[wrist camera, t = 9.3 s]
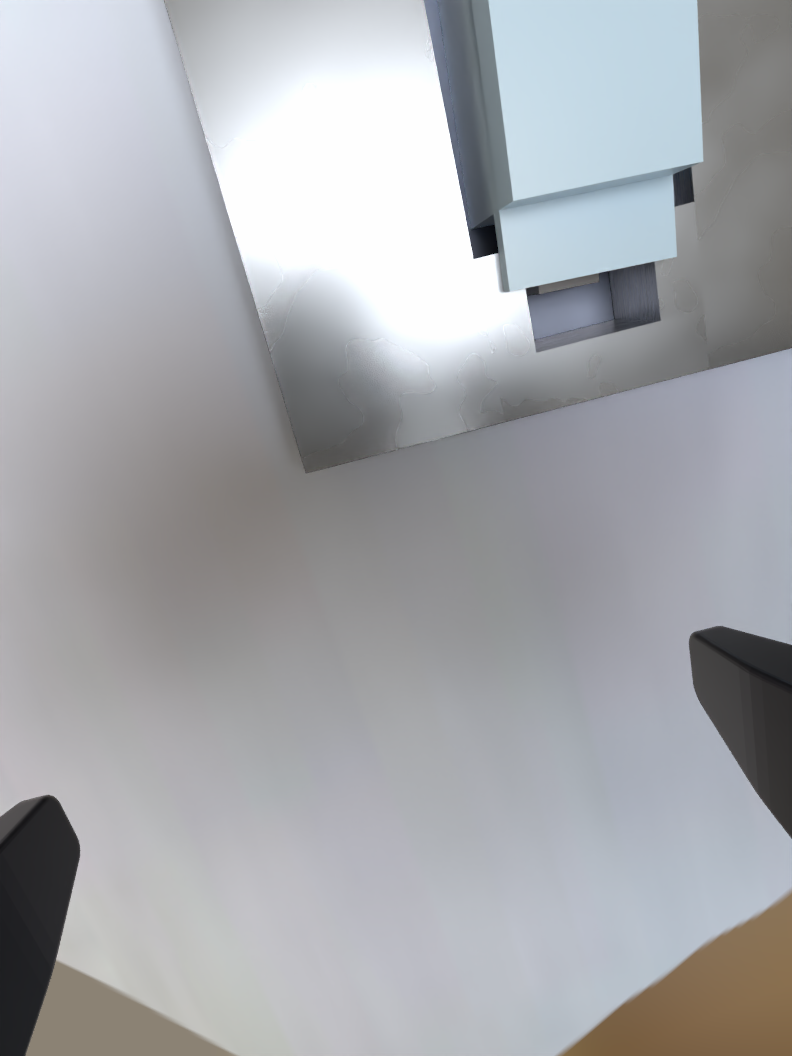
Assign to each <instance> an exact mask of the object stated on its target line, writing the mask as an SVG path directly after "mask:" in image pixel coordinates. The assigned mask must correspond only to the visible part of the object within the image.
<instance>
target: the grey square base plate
mask: <svg viewBox="0 0 792 1056" xmlns="http://www.w3.org/2000/svg"><path fill="white" fill-rule="evenodd" d="M164 2H165V5H166V9H167V12H168V15H169V19H170V22H171V25H172V29H173V32H174V35H175V39H176V42H177V45H178V49H179V52H180V55H181V59H182V62H183V65H184V69H185V72H186V75H187V79H188V82H189V85H190V89H191V92H192V95H193V99H194V102H195V105H196V109H197V112H198V115H199V119H200V122H201V125H202V129H203V132H204V135H205V139H206V142H207V145H208V149H209V152H210V155H211V159H212V162H213V165H214V169H215V172H216V175H217V179H218V182H219V185H220V189H221V192H222V195H223V199H224V202H225V205H226V209H227V212H228V215H229V219H230V222H231V225H232V229H233V232H234V235H235V239H236V242H237V245H238V249H239V252H240V255H241V259H242V262H243V265H244V269H245V272H246V275H247V279H248V282H249V285H250V289H251V292H252V295H253V299H254V302H255V305H256V309H257V312H258V315H259V319H260V322H261V325H262V329H263V332H264V335H265V339H266V342H267V345H268V349H269V352H270V355H271V359H272V362H273V365H274V369H275V372H276V375H277V379H278V382H279V385H280V389H281V392H282V395H283V399H284V402H285V405H286V409H287V412H288V415H289V419H290V422H291V425H292V429H293V432H294V435H295V439H296V442H297V445H298V449H299V452H300V455H301V459H302V462H303V465H304V469H305V472H306V473H309V472H313V471H317V470H321V469H325V468H329V467H333V466H337V465H340V464H344V463H348V462H352V461H356V460H360V459H364V458H368V457H371V456H375V455H379V454H383V453H387V452H391V451H395V450H399V449H402V448H406V447H410V446H414V445H418V444H422V443H426V442H430V441H433V440H437V439H441V438H445V437H449V436H453V435H457V434H461V433H464V432H468V431H472V430H476V429H480V428H484V427H488V426H492V425H495V424H499V423H503V422H507V421H511V420H515V419H519V418H523V417H526V416H530V415H534V414H538V413H542V412H546V411H550V410H554V409H557V408H561V407H565V406H569V405H573V404H577V403H581V402H585V401H588V400H592V399H596V398H600V397H604V396H608V395H612V394H616V393H619V392H623V391H627V390H631V389H635V388H639V387H643V386H647V385H650V384H654V383H658V382H662V381H666V380H670V379H674V378H678V377H681V376H685V375H689V374H693V373H697V372H701V371H705V370H709V369H712V368H716V367H720V366H724V365H728V364H732V363H736V362H740V361H743V360H747V359H751V358H755V357H759V356H763V355H767V354H771V353H774V352H778V351H782V350H786V349H790V348H792V0H697V9H698V35H699V61H700V87H701V113H702V139H703V162H701V163H699V164H696V165H694V166H692V167H689V168H687V169H684V170H682V171H680V172H677V173H675V174H673V189H674V208H675V227H676V246H677V257H673V258H669V259H664V260H659V261H654V262H649V263H644V264H640V265H635V266H630V267H625V268H620V269H616V270H611V271H609V279H610V286H611V294H612V302H613V309H614V317H615V319H614V320H610V321H606V322H603V323H599V324H595V325H591V326H587V327H583V328H579V329H576V330H572V331H568V332H564V333H560V334H556V335H552V336H549V337H545V338H541V339H537V340H534V336H533V330H532V324H531V318H530V313H529V307H528V301H527V295H526V289H525V288H524V289H519V290H514V291H510V292H504V288H503V281H502V273H501V266H500V258H499V253H496V254H492V255H488V256H485V257H481V258H477V259H473V254H472V249H471V243H470V238H469V233H468V228H467V223H466V217H465V212H464V207H463V202H462V197H461V191H460V186H459V181H458V176H457V171H456V165H455V160H454V155H453V150H452V145H451V139H450V134H449V129H448V124H447V119H446V113H445V108H444V103H443V98H442V93H441V87H440V82H439V77H438V72H437V67H436V61H435V56H434V51H433V46H432V41H431V35H430V30H429V25H428V20H427V15H426V9H425V4H424V0H164Z"/></svg>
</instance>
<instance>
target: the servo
mask: <svg viewBox="0 0 792 1056" xmlns="http://www.w3.org/2000/svg"><path fill="white" fill-rule="evenodd" d="M437 2H438V9H439V16H440V23H441V29H442V36H443V43H444V50H445V57H446V64H447V71H448V77H449V84H450V91H451V98H452V105H453V112H454V119H455V126H456V132H457V139H458V146H459V153H460V160H461V167H462V174H463V181H464V187H465V194H466V201H467V208H468V215H469V222H470V229H476V228H481V227H485V226H490V225H495V229H496V236H497V244H498V251H499V258H500V266H501V273H502V281H503V288H504V292H510V291H514V290H519V289H524V288H525V289H526V295H536V294H543V293H547V292H552V291H557V290H562V289H567V288H572V287H576V286H581V285H586V284H591V283H596V282H599V273H601V272H606V271H611V270H616V269H620V268H625V267H630V266H635V265H640V264H644V263H649V262H654V261H659V260H664V259H669V258H673V257H677V246H676V227H675V208H674V189H673V174H675V173H677V172H680V171H682V170H684V169H687V168H689V167H692V166H694V165H696V164H699V163H701V162H703V139H702V113H701V87H700V61H699V35H698V9H697V0H437Z"/></svg>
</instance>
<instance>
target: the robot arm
mask: <svg viewBox="0 0 792 1056" xmlns="http://www.w3.org/2000/svg"><path fill="white" fill-rule="evenodd" d="M689 649H690V658H691V667H692V676H693V685H694V689H695V692H696V695H697V697H698V699H699V701H700V703H701V705H702V706H703V708H704V710H705V711H706V713H707V714H708V716H709V718H710V719H711V721H712V722H713V724H714V726H715V727H716V729H717V730H718V732H719V734H720V735H721V737H722V738H723V740H724V742H725V743H726V745H727V746H728V748H729V750H730V751H731V753H732V755H733V756H734V758H735V759H736V761H737V763H738V764H739V766H740V767H741V769H742V771H743V772H744V774H745V775H746V777H747V779H748V780H749V782H750V783H751V785H752V786H753V788H754V789H755V791H756V792H757V794H758V795H759V797H760V798H761V799H762V801H763V802H764V803H765V805H766V806H767V807H768V809H769V810H770V811H771V813H772V814H773V815H774V817H775V818H776V819H777V820H778V822H779V823H780V824H781V825H782V827H783V828H784V829H785V831H786V832H787V833H788V834H789V836H790V837H791V838H792V645H790V644H786V643H782V642H779V641H775V640H771V639H768V638H764V637H760V636H757V635H753V634H749V633H745V632H742V631H738V630H734V629H731V628H727V627H723V626H716V627H712V628H708V629H704V630H700V631H696V632H694V633H692V634H691V636H690V639H689ZM79 858H80V845H79V840H78V838H77V836H76V834H75V832H74V830H73V828H72V826H71V824H70V822H69V820H68V818H67V816H66V814H65V812H64V810H63V808H62V806H61V804H60V803H59V801H58V800H57V799H56V798H55V797H54V796H51V795H45V796H41V797H37V798H33V799H29V800H25V801H22V802H20V803H18V804H17V805H15V806H14V807H13V808H11V809H10V810H9V811H7V812H6V813H5V814H4V815H2V816H1V817H0V1056H25V1055H26V1052H27V1049H28V1046H29V1043H30V1040H31V1037H32V1034H33V1031H34V1028H35V1025H36V1022H37V1019H38V1016H39V1013H40V1009H41V1007H42V1004H43V1001H44V998H45V995H46V992H47V989H48V985H49V982H50V979H51V976H52V972H53V969H54V965H55V961H56V957H57V953H58V949H59V945H60V941H61V936H62V932H63V928H64V923H65V919H66V915H67V911H68V906H69V902H70V898H71V893H72V889H73V885H74V880H75V876H76V872H77V867H78V863H79Z"/></svg>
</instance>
